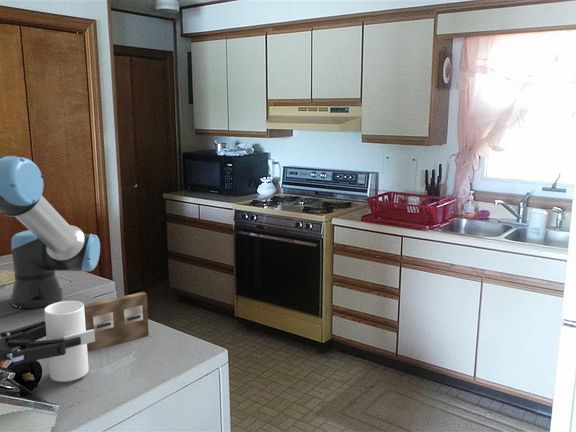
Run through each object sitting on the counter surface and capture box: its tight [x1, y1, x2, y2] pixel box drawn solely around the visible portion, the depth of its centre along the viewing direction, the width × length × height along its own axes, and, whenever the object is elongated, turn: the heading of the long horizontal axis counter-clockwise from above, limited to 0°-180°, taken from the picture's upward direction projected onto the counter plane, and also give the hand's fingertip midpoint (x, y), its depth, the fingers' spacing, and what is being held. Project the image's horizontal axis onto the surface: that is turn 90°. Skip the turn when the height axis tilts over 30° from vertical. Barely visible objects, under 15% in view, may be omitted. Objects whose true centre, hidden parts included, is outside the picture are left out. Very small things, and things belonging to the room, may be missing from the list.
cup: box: [44, 300, 89, 383], centre depth 118 cm, size 8×8×16 cm
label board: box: [84, 291, 150, 352], centre depth 138 cm, size 16×8×12 cm, turn 128°
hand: (87, 328), depth 120 cm, fingers open, 8 cm apart
